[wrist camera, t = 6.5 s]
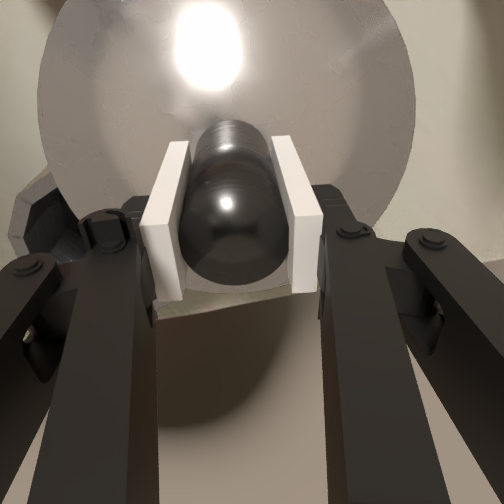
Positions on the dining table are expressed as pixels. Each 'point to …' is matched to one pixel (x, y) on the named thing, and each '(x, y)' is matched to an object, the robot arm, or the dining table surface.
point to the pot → (49, 225)
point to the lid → (226, 115)
